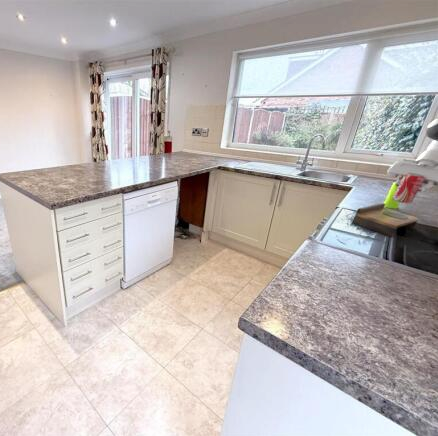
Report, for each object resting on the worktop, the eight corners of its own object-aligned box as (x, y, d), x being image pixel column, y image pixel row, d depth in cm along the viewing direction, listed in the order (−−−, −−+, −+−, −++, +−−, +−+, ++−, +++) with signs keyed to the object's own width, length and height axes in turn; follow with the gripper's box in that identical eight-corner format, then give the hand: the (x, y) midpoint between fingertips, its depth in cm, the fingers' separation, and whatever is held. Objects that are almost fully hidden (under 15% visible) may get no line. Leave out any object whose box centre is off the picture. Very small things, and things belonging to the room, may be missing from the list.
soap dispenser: (397, 210, 130) (416, 173, 122) (381, 206, 135) (398, 170, 127) (400, 208, 133) (419, 172, 125) (384, 204, 138) (401, 169, 130)
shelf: (413, 228, 108) (421, 214, 106) (390, 236, 99) (398, 221, 96) (376, 216, 120) (382, 203, 117) (351, 222, 110) (358, 208, 108)
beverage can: (390, 198, 110) (403, 171, 105) (408, 201, 107) (422, 174, 102) (393, 202, 105) (407, 174, 100) (413, 205, 102) (428, 177, 97)
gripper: (398, 153, 110) (378, 176, 109) (467, 163, 93) (443, 190, 93) (398, 163, 113) (378, 185, 113) (464, 174, 97) (441, 200, 97)
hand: (408, 187), depth 103 cm, fingers closed on beverage can, 6 cm apart
